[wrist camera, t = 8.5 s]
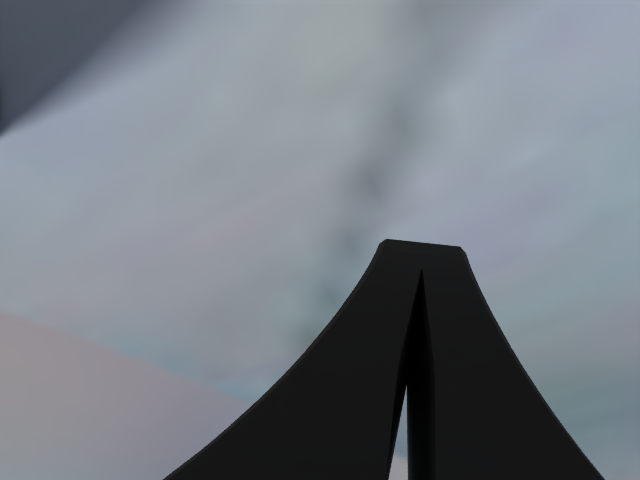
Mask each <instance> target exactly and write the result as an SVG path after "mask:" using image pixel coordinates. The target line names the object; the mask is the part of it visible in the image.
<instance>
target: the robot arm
mask: <svg viewBox="0 0 640 480" xmlns="http://www.w3.org/2000/svg"><path fill="white" fill-rule="evenodd" d="M406 385H407V443H408V480H605V479H604V478H603V477H602V476H601V474H600V473H599V472H598V471H597V469H596V468H595V467H594V466H593V464H592V463H591V462H590V461H589V459H588V458H587V457H586V456H585V454H584V453H583V452H582V451H581V449H580V448H579V447H578V445H577V444H576V443H575V441H574V440H573V439H572V437H571V436H570V435H569V433H568V432H567V431H566V429H565V428H564V427H563V425H562V424H561V423H560V421H559V420H558V418H557V417H556V416H555V414H554V413H553V411H552V410H551V409H550V407H549V406H548V404H547V403H546V401H545V400H544V398H543V397H542V395H541V394H540V393H539V391H538V390H537V388H536V386H535V385H534V383H533V382H532V380H531V379H530V377H529V376H528V374H527V372H526V371H525V369H524V368H523V366H522V365H521V363H520V361H519V360H518V358H517V356H516V355H515V353H514V351H513V350H512V348H511V346H510V345H509V343H508V341H507V339H506V337H505V336H504V334H503V332H502V330H501V328H500V327H499V325H498V323H497V321H496V319H495V318H494V316H493V314H492V312H491V310H490V308H489V306H488V304H487V302H486V300H485V298H484V296H483V294H482V292H481V290H480V288H479V285H478V283H477V281H476V279H475V276H474V274H473V272H472V269H471V267H470V264H469V261H468V258H467V255H466V253H465V252H464V251H463V249H462V248H461V247H459V246H449V245H440V244H430V243H421V242H411V241H402V240H392V239H386V240H384V241H383V242H381V243H380V244H379V246H378V248H377V251H376V253H375V255H374V257H373V259H372V261H371V263H370V264H369V266H368V268H367V269H366V271H365V273H364V274H363V276H362V277H361V279H360V281H359V282H358V284H357V285H356V287H355V288H354V290H353V291H352V292H351V294H350V295H349V297H348V298H347V299H346V301H345V302H344V304H343V305H342V306H341V308H340V309H339V311H338V312H337V313H336V315H335V316H334V317H333V319H332V320H331V321H330V322H329V324H328V325H327V326H326V327H325V328H324V330H323V331H322V332H321V333H320V334H319V335H318V337H317V338H316V339H315V340H314V341H313V343H312V344H311V345H310V346H309V347H308V349H307V350H306V351H305V352H304V353H303V354H302V356H301V357H300V358H299V359H298V360H297V361H296V362H295V363H294V364H293V365H292V366H291V368H290V369H289V370H288V371H287V372H286V373H285V374H284V375H283V376H282V377H281V378H280V379H279V380H278V381H277V382H276V383H275V384H274V385H273V386H272V387H271V388H270V389H269V390H268V391H267V392H266V393H265V394H264V395H263V396H262V397H261V398H260V399H259V400H258V401H257V402H255V403H254V404H253V405H252V406H251V407H250V408H249V409H248V410H247V411H246V412H245V413H243V414H242V415H241V416H240V417H239V418H238V419H237V420H236V421H234V423H232V424H231V425H230V426H229V427H228V428H227V429H226V430H224V431H223V432H222V433H221V434H220V435H219V436H217V437H216V438H215V439H214V440H213V441H212V442H210V443H209V444H208V445H207V446H205V447H204V448H203V449H202V450H201V451H199V452H198V453H197V454H196V455H194V456H193V457H192V458H190V459H189V460H188V461H186V462H185V463H184V464H183V465H181V466H180V467H179V468H177V469H176V470H175V471H173V472H172V473H171V474H169V475H168V476H167V477H166V478H164V479H163V480H388V479H389V473H390V468H391V463H392V458H393V453H394V448H395V442H396V437H397V432H398V427H399V422H400V416H401V411H402V406H403V401H404V396H405V390H406Z"/></svg>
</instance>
